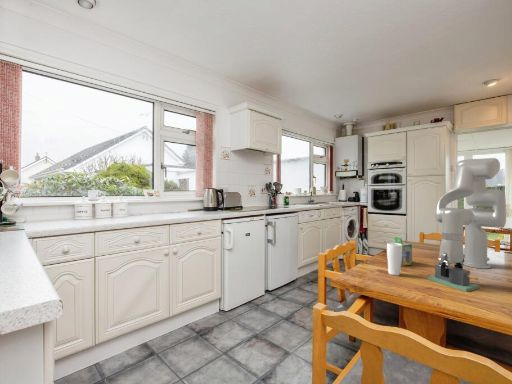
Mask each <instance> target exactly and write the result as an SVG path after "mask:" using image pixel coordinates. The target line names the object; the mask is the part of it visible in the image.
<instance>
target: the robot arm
mask: <svg viewBox="0 0 512 384" xmlns="http://www.w3.org/2000/svg"><path fill="white" fill-rule="evenodd" d="M455 168H456V169H455V174H454V178H453V182H452V188H450V189H449V190H448V191H447V192H445V193H444V194H443V195H441V196H440V198H439V199H438V202H437V204H436V208H435V213H434V214H435V215H434V217H435V220H436V221H437V222H438V223H440V224H441V242H440V244H439V245H440V246H439V255H438V256H439V257H438V258H437V259H438V260H437V261H438V264H440V267H441V276H443V277H447V278H449V269H448V267H449V266H451V265H452V264H453V265H454V266H453V267H457V268H461V269H464V266H466V267H469V268H470V267H471V268H475V269H483V270H485V269H491V267H492V265H491V264H490V263H488V262H489V261H490V260H491V259H490V257H488V233H487V231H486V230H485V229H484V228H483V227H485V228H486V227H487V228H488V227H489V228H503V227H505V226H506V223H507V202H506V199H507V198H506V195H505V194H506V193H505V192H504V191H503V190H501V189H498V188H492V189H491V188H490V189H489V188H487V186H486V185H487V184H486V183H487V182H486V180H492V179H493V178H495V177H496V175H497V174H498V173H499V172H500V169H501V162H500V160H499V159H498V158H496V157H488V158H486V157H485V158H471V159H470V158H469V159H468V158H467V159H461V160H459V161H457V162H456V164H455ZM464 198H465V201H466V204H467V205H468V206H471V207H473V208H458V207H447V206H448V205H449V204H450V203H452V202H454V201H458V200H461V199H464ZM474 207H477V208H474ZM478 207H479V208H478ZM480 207H481V208H480ZM463 242H464V244H463Z"/></svg>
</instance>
